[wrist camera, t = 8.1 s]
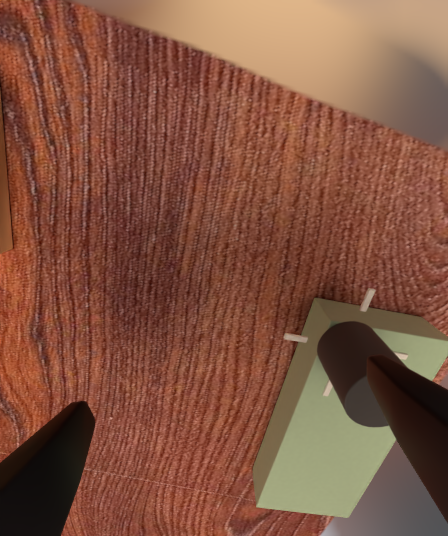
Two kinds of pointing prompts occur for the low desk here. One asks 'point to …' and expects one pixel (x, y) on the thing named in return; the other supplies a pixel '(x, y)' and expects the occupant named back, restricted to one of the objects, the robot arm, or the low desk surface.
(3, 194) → the button block
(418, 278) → the low desk surface
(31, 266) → the low desk surface
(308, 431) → the dial panel
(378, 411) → the knob
